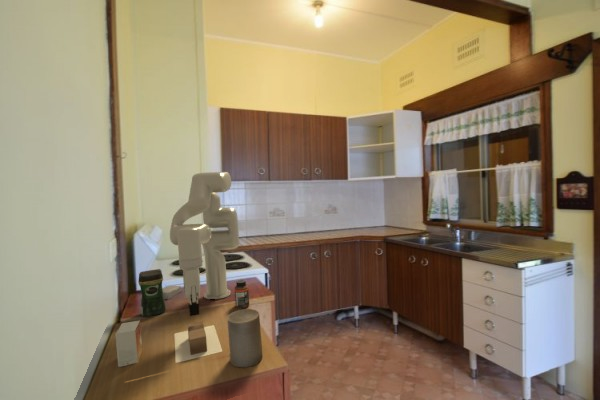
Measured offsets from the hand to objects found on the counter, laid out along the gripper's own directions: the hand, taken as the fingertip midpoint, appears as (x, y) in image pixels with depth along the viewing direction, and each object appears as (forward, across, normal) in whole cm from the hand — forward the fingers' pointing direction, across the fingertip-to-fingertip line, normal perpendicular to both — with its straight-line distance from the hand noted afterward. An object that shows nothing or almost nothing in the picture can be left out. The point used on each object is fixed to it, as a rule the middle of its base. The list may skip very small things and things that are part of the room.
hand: (194, 314), depth 110 cm
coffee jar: (+9, -33, -15) cm, 38 cm away
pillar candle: (+9, +21, +13) cm, 26 cm away
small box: (+9, +4, -20) cm, 22 cm away
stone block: (+9, -55, -10) cm, 56 cm away
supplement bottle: (+9, -21, +21) cm, 31 cm away
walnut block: (+6, -1, 0) cm, 6 cm away
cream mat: (+9, +3, 0) cm, 9 cm away
